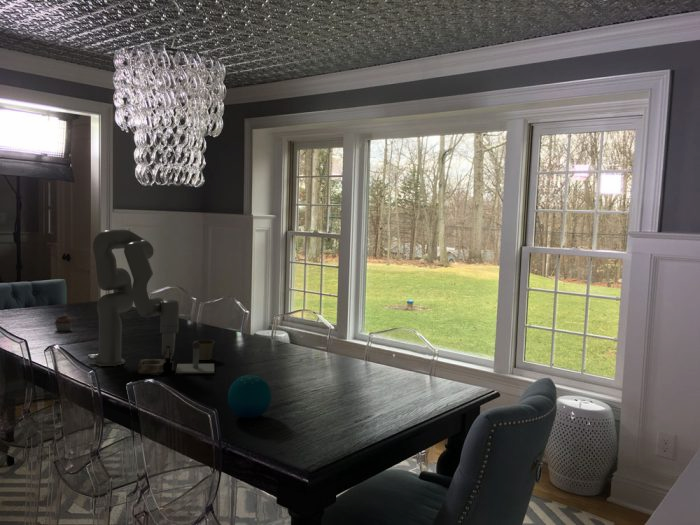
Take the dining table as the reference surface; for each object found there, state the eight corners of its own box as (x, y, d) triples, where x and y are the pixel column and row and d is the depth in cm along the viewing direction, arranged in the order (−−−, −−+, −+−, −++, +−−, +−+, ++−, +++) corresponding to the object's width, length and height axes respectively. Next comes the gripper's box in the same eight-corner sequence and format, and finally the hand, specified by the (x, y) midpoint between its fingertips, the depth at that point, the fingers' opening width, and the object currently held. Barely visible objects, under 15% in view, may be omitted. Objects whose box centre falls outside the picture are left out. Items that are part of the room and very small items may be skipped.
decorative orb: (272, 411, 219) (274, 370, 217) (268, 425, 204) (269, 382, 203) (230, 409, 218) (232, 368, 217) (223, 424, 203) (224, 380, 202)
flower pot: (193, 362, 280) (194, 344, 279) (193, 357, 289) (194, 339, 288) (214, 362, 283) (215, 344, 282) (213, 357, 292) (214, 339, 291)
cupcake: (55, 329, 336) (55, 311, 335) (73, 329, 338) (73, 311, 338) (52, 332, 327) (52, 314, 326) (71, 332, 330) (71, 314, 329)
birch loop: (137, 374, 256) (138, 365, 256) (140, 368, 266) (140, 359, 265) (172, 374, 259) (172, 365, 259) (173, 368, 269) (173, 359, 269)
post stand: (175, 375, 258) (176, 344, 257) (177, 367, 271) (178, 337, 270) (214, 374, 262) (215, 344, 261) (213, 366, 274) (214, 338, 273)
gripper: (161, 324, 269) (160, 364, 271) (158, 332, 253) (157, 375, 254) (179, 324, 271) (178, 364, 273) (177, 332, 255) (176, 374, 256)
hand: (168, 369), depth 264 cm, fingers open, 5 cm apart
